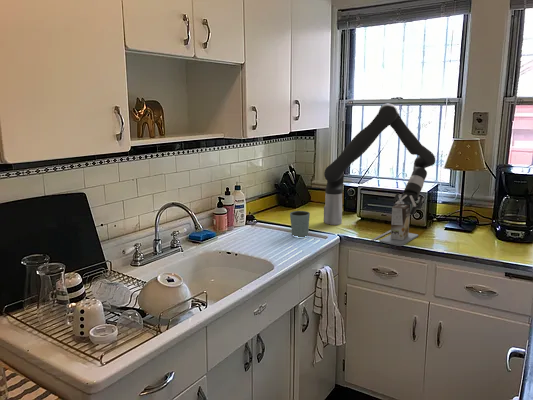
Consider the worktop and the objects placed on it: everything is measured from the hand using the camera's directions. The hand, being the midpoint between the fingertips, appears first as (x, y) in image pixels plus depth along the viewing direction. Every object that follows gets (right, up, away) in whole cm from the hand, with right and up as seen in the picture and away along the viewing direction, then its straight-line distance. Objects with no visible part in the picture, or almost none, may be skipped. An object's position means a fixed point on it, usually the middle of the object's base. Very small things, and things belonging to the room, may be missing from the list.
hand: (403, 213), depth 223 cm
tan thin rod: (-8, -12, +7) cm, 16 cm away
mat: (-2, -13, +2) cm, 13 cm away
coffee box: (-1, -12, +2) cm, 12 cm away
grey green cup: (-50, -12, +11) cm, 52 cm away
